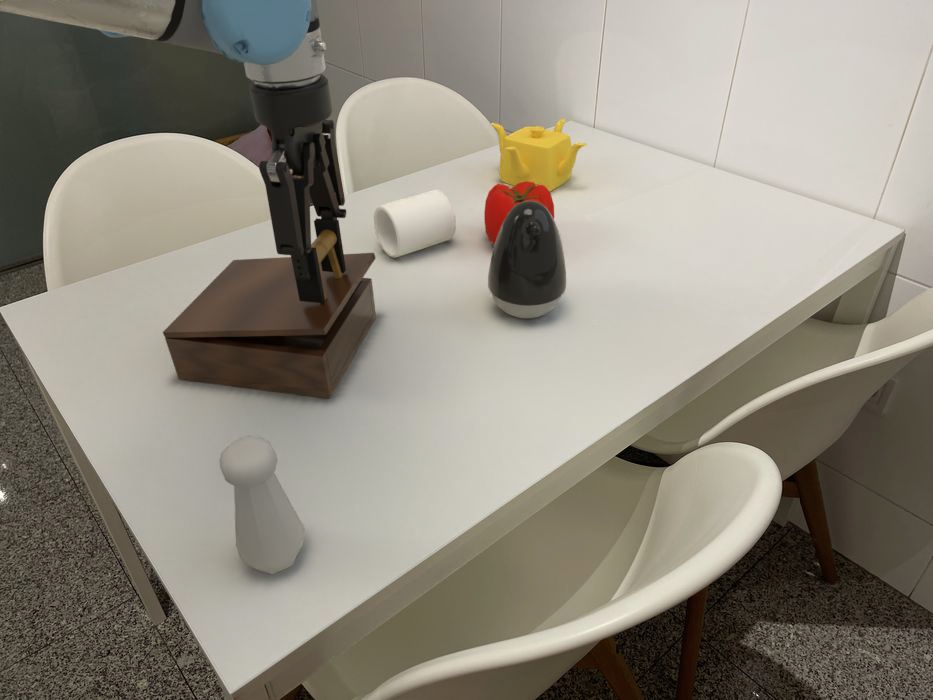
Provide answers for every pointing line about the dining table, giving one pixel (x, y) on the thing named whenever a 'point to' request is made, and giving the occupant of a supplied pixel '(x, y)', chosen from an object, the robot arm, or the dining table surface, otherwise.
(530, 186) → the tomato
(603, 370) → the dining table surface
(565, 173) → the teapot
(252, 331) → the lid
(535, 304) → the black tumbler egg
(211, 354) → the wooden box
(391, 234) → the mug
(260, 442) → the salt shaker
